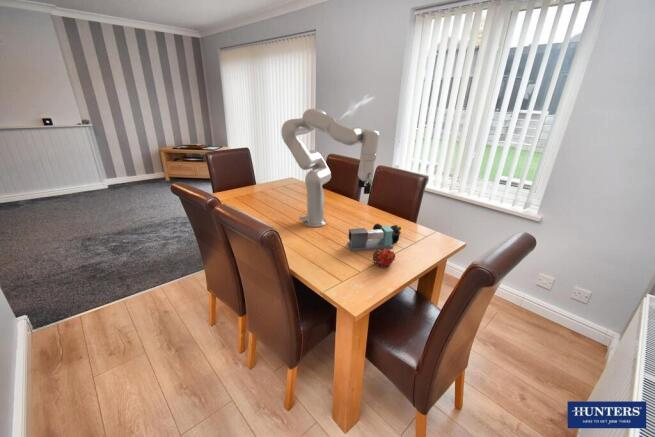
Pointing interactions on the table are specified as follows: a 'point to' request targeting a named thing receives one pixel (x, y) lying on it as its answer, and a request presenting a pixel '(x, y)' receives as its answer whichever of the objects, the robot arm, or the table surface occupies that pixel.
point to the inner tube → (376, 234)
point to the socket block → (387, 236)
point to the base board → (370, 246)
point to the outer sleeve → (358, 237)
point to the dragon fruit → (383, 257)
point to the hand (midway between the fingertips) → (363, 190)
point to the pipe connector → (394, 235)
